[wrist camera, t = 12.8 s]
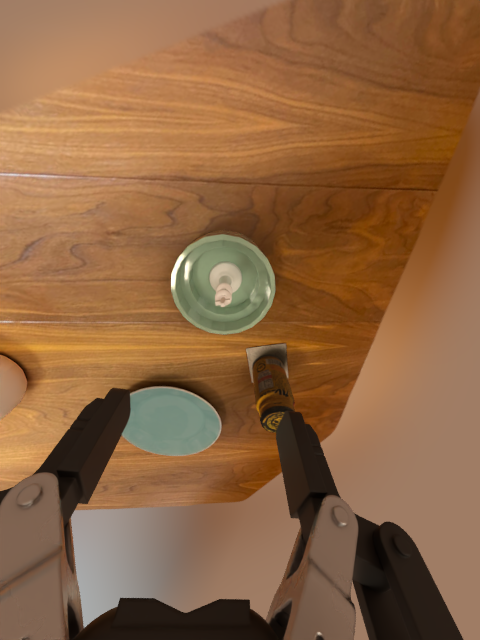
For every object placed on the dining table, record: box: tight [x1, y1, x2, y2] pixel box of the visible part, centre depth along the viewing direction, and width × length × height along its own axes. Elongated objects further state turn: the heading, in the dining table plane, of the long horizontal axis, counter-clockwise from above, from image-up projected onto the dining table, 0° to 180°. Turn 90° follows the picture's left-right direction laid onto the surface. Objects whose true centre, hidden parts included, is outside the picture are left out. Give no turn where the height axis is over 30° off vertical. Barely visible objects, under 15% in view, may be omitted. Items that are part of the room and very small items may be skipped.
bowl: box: [171, 230, 275, 335], centre depth 30 cm, size 13×13×6 cm
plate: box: [122, 386, 222, 456], centre depth 45 cm, size 22×22×3 cm
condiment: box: [246, 344, 295, 433], centre depth 35 cm, size 7×8×12 cm
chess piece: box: [209, 261, 242, 307], centre depth 27 cm, size 5×5×10 cm
